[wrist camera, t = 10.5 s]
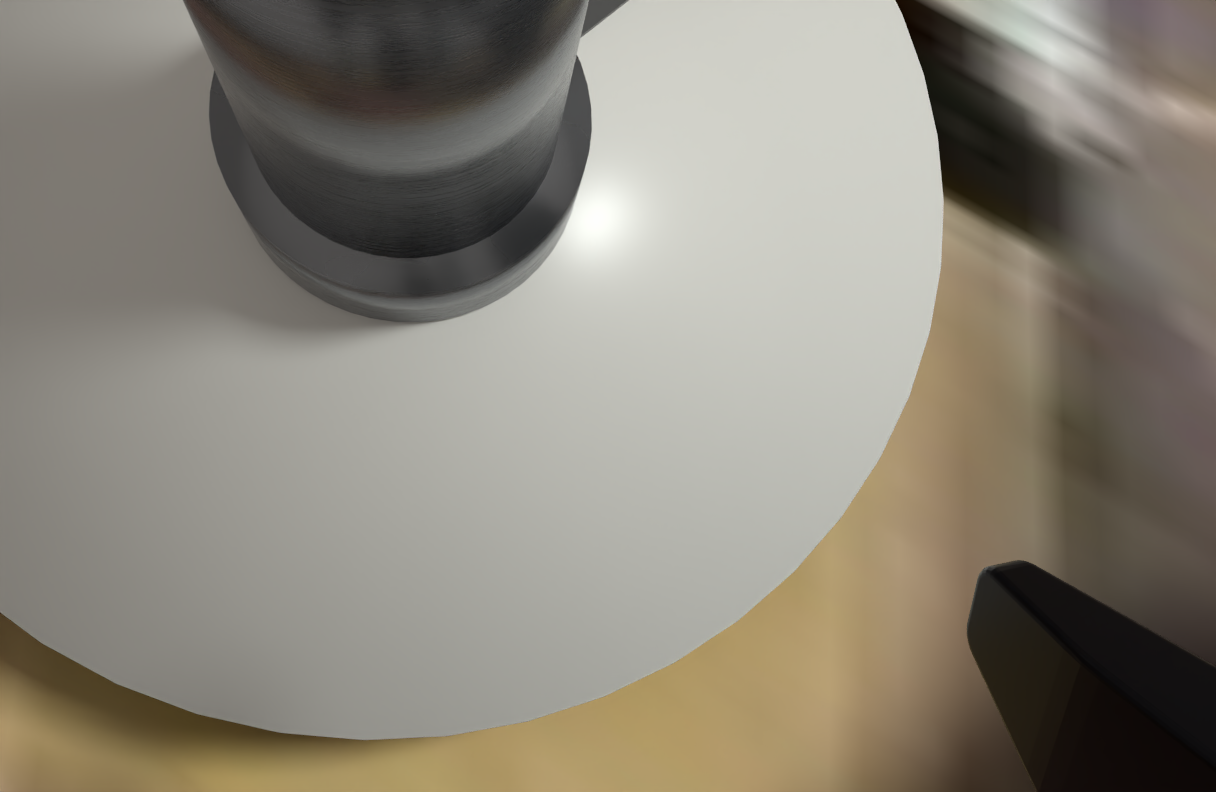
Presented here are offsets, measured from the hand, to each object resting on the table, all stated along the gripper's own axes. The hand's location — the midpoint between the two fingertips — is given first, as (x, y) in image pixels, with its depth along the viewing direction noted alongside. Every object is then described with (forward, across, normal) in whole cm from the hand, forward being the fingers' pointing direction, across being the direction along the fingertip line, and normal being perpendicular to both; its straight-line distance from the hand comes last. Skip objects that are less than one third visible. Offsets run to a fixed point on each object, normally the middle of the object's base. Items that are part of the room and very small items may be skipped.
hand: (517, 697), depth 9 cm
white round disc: (+14, 0, +1) cm, 14 cm away
